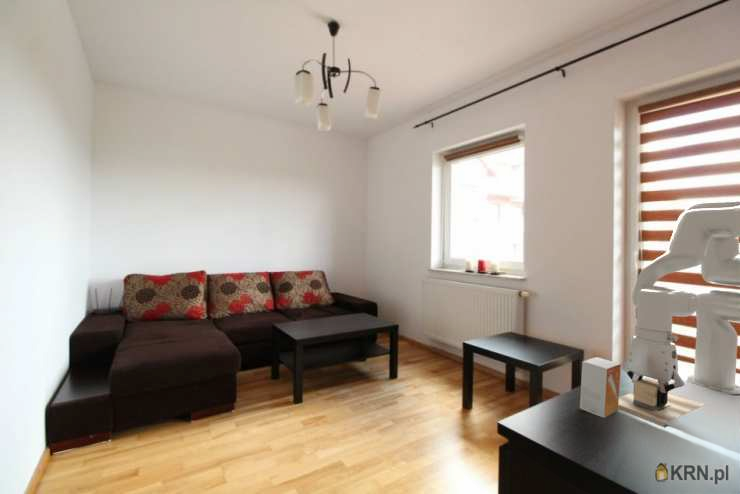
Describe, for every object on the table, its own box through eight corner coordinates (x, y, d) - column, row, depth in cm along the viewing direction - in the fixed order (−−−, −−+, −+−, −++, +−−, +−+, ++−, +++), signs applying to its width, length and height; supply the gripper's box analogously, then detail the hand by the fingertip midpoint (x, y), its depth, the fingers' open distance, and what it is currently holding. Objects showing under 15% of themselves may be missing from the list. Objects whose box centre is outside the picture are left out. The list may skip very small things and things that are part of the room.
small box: (604, 419, 91) (607, 368, 91) (579, 408, 97) (581, 361, 96) (619, 411, 96) (621, 363, 95) (593, 401, 101) (595, 356, 101)
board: (649, 390, 110) (649, 386, 110) (704, 408, 99) (704, 404, 99) (608, 405, 99) (608, 400, 99) (664, 427, 88) (664, 422, 88)
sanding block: (646, 398, 101) (647, 377, 100) (665, 405, 97) (666, 383, 97) (633, 403, 97) (634, 381, 97) (652, 410, 93) (653, 388, 93)
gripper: (699, 342, 91) (695, 412, 91) (625, 326, 106) (622, 387, 106) (686, 345, 87) (681, 419, 88) (611, 328, 102) (608, 391, 103)
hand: (649, 400), depth 97 cm, fingers closed on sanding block, 4 cm apart
